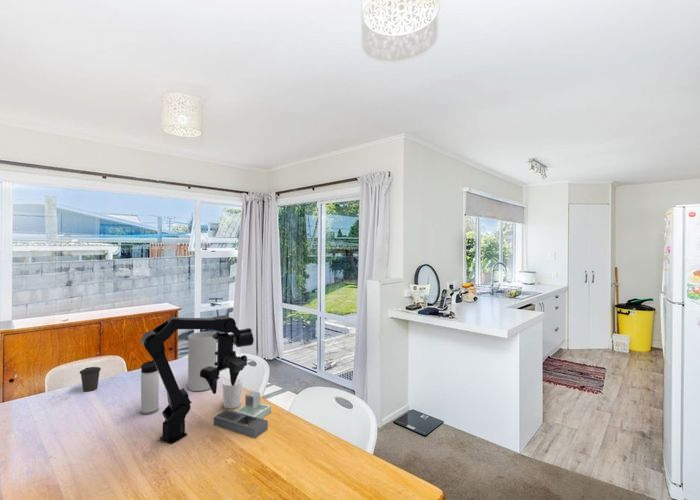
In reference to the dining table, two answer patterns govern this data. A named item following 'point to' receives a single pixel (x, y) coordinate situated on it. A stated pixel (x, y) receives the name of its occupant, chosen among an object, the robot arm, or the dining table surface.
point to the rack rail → (241, 423)
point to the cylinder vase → (200, 358)
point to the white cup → (232, 393)
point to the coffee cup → (90, 378)
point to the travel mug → (149, 388)
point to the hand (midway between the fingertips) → (223, 389)
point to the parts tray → (263, 412)
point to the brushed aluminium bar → (252, 403)
